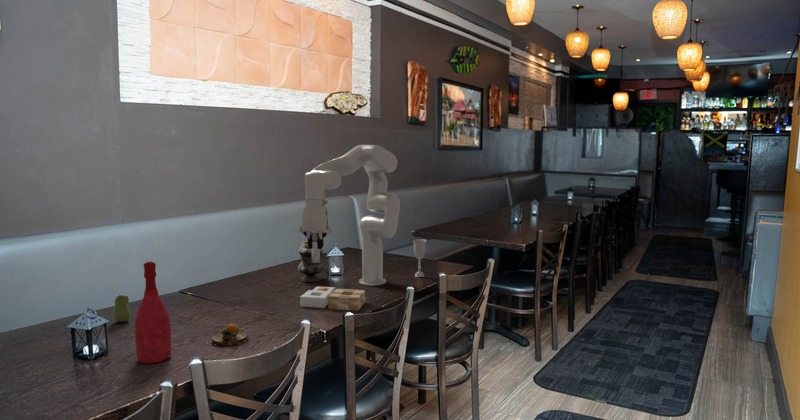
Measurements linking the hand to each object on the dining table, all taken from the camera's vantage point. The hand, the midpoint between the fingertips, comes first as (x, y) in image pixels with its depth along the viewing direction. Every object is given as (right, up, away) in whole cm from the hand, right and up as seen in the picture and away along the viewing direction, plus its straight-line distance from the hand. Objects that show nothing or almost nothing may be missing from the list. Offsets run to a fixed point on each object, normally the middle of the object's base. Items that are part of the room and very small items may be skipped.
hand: (315, 247), depth 225 cm
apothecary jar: (-8, -18, +42) cm, 46 cm away
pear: (-67, -26, -21) cm, 75 cm away
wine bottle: (-41, -30, -54) cm, 74 cm away
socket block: (+1, -22, +7) cm, 23 cm away
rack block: (+13, -23, +1) cm, 26 cm away
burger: (-23, -29, -38) cm, 53 cm away
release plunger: (+1, -21, +11) cm, 24 cm away
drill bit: (0, -6, +1) cm, 6 cm away
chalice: (+43, -18, +48) cm, 67 cm away
